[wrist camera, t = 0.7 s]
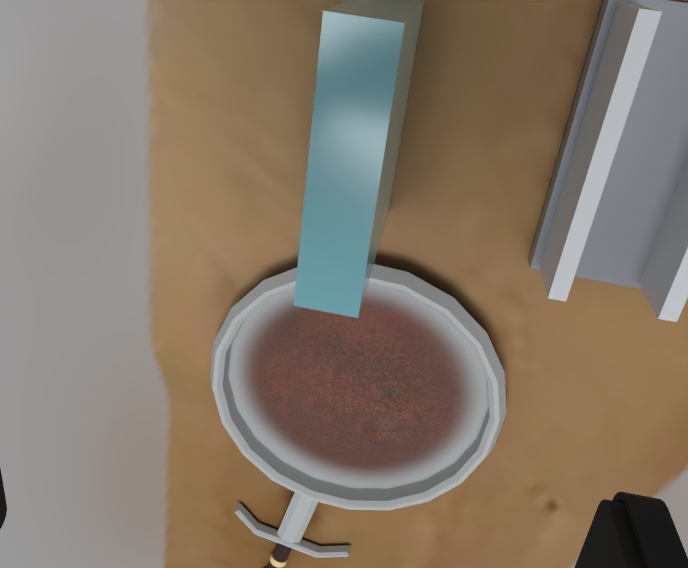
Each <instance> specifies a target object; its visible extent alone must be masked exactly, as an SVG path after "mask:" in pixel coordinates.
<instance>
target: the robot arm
mask: <svg viewBox="0 0 688 568" xmlns="http://www.w3.org/2000/svg"><path fill="white" fill-rule="evenodd" d="M6 511H7V505H6V500H5V493H4V487H3V481H2V475H1V470H0V528H1V527H2V525H3V523H4V520H5V517H6ZM575 568H688V558H687V556H686V553H685V551H684V548H683V546H682V543H681V540H680V538H679V535H678V533H677V530H676V528H675V525H674V523H673V520H672V518H671V515H670V513H669V510H668V508H667V506H666V504H665V503H664V502H663V501H662V500H661V499H656V498H651V497H646V496H640V495H635V494H630V493H625V492H618V493H617V494H616V495H615V496H614V498H613V500H612V501H610V500H602V501H601V502H600V504H599V506H598V508H597V511H596V514H595V516H594V519H593V521H592V524H591V527H590V529H589V532H588V534H587V537H586V540H585V542H584V545H583V547H582V550H581V553H580V555H579V558H578V560H577V563H576V566H575Z"/></svg>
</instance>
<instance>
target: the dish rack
mask: <svg viewBox="0 0 688 568" xmlns="http://www.w3.org/2000/svg"><path fill="white" fill-rule="evenodd" d="M528 262H529V266H530V269H534V270H540V271H541V272H542V276H543V280H544V284H545V288H546V292H547V297H548V298H549V299H555V300H560V301H565V302H566V300H567V297H568V294H569V291H570V288H571V285H572V282H573V279H574V277H579V278H584V279H590V280H595V281H601V282H606V283H612V284H617V285H623V286H628V287H634V288H639V289H643V291H644V293H645V295H646V297H647V299H648V301H649V302H650V304H651V306H652V308H653V310H654V312H655V314H656V316H657V318H658V319H663V320H668V321H673V322H677V320H678V318H679V316H680V313H681V311H682V309H683V307H684V304H685V302H686V300H687V297H688V3H687V2H680V1H673V0H603V4H602V7H601V10H600V14H599V17H598V21H597V24H596V28H595V31H594V35H593V38H592V42H591V45H590V48H589V52H588V55H587V59H586V62H585V66H584V69H583V73H582V76H581V80H580V83H579V86H578V90H577V93H576V97H575V100H574V104H573V107H572V111H571V114H570V118H569V121H568V124H567V128H566V131H565V135H564V138H563V142H562V145H561V149H560V152H559V156H558V159H557V162H556V166H555V169H554V173H553V176H552V180H551V183H550V187H549V190H548V194H547V197H546V200H545V204H544V207H543V211H542V214H541V218H540V221H539V225H538V228H537V232H536V235H535V239H534V242H533V245H532V249H531V252H530V256H529V259H528Z"/></svg>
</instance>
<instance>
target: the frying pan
mask: <svg viewBox="0 0 688 568" xmlns="http://www.w3.org/2000/svg"><path fill="white" fill-rule="evenodd" d="M296 276H297V268H294V269H291V270H289V271H286V272H284V273H281V274H278V275H276V276H273V277H270V278H268V279H265V280H263V281H262V282H261V283H260V284H258V285H257V286H256V287H255V288H254V289H253V290H251V291H250V292H249V293H248V294H247V295H246V296H245V297H243V298H242V299H241V300H240V301H239V302H238V303H236V304H235V305H234V306H233V307H232V308H231V310H230V312H229V314H228V315H227V317H226V319H225V321H224V323H223V325H222V327H221V329H220V331H219V333H218V335H217V337H216V339H215V340H214V344H213V355H212V366H211V377H210V380H211V384H212V388H213V392H214V396H215V399H216V403H217V407H218V410H219V414H220V417H221V421H222V424H223V425H224V427H225V428H226V430H227V431H228V433H229V434H230V436H231V437H232V439H233V440H234V442H235V443H236V445H237V446H238V448H239V449H240V451H241V452H242V454H243V455H244V456H245V457H246V458H247V459H249V460H250V461H251V462H252V463H253V464H254V465H255V466H257V467H258V468H259V469H260V470H261V471H262V472H263V473H265V474H266V475H267V476H268V477H269V478H270V479H271V480H273V481H274V482H276V483H278V484H280V485H282V486H284V487H286V488H288V489H290V490H292V491H294V492H295V493H294V495H293V497H292V499H291V502H290V504H289V506H288V509H287V511H286V513H285V516H284V518H283V520H282V523H281V525H280V527H279V530H276V529H274V528H271V527H269V526H266V525H263V524H261V523H258V522H257V521H256V520H255V519H254V517H253V516H252V515H251V514H250V513H249V512H248V511H247V510H246V509H245V508H244V507H243V505H242V504H241V503H240V502H239V503H238V506H237V508H236V510H235V513H236V514H237V515H238V517H239V518H240V519H241V520H242V521H243V522H244V523H245V524H246V525H247V526H248V527H249V528H250V529H251V531H252V532H253V533H254V534H256V535H258V536H261V537H263V538H266V539H269V540H271V541H274V542H277V543H278V544H277V547H276V549H275V551H274V553H273V554H272V555H271V557H270V563H269V565H268V567H267V568H283V567H284V566H285V565H286V563H287V557H288V555H289V553H290V550H291V548H292V549H295V550H298V551H300V552H303V553H305V554H308V555H311V556H313V557H348V556H349V552H350V546H351V545H343V546H318V545H316V544H313V543H311V542H308V541H305V540H303V539H301V538H302V536H303V534H304V532H305V530H306V528H307V525H308V523H309V521H310V519H311V517H312V515H313V512H314V510H315V508H316V506H317V504H318V502H321V503H325V504H329V505H333V506H337V507H341V508H344V509H348V510H393V509H397V508H402V507H406V506H411V505H415V504H420V503H424V502H428V501H430V500H432V499H434V498H435V497H437V496H439V495H441V494H443V493H445V492H446V491H448V490H450V489H452V488H454V487H455V486H457V485H459V484H461V483H462V482H463V481H464V480H465V479H466V478H467V477H468V476H469V474H470V473H471V472H472V471H473V470H474V469H475V468H476V467H477V466H478V465H479V464H480V463H481V461H482V460H483V459H484V458H485V457H486V456H487V455H488V454H489V453H490V452H491V451H492V449H493V447H494V445H495V442H496V439H497V437H498V434H499V431H500V429H501V426H502V423H503V421H504V418H505V416H506V391H505V372H504V370H503V368H502V366H501V363H500V361H499V359H498V357H497V354H496V352H495V350H494V347H493V345H492V343H491V341H490V338H489V336H488V334H487V332H486V331H485V330H484V329H483V328H482V327H481V326H480V325H479V324H478V323H477V322H476V321H475V320H474V319H473V318H472V316H471V315H470V314H469V313H468V312H467V311H466V310H465V309H464V308H463V307H462V306H461V305H460V304H459V303H458V302H457V301H456V299H455V298H453V297H452V296H450V295H448V294H446V293H444V292H443V291H441V290H439V289H437V288H436V287H434V286H432V285H430V284H428V283H427V282H425V281H423V280H421V279H420V278H418V277H416V276H414V275H412V274H411V273H409V272H407V271H404V270H400V269H395V268H391V267H387V266H382V265H378V264H374V265H373V268H372V272H371V275H370V279H369V282H368V286H367V289H366V293H365V296H364V300H363V303H362V307H361V310H360V314H359V317H358V318H355V317H350V316H344V315H339V314H334V313H329V312H324V311H319V310H313V309H308V308H303V307H298V306H294V296H295V286H296Z"/></svg>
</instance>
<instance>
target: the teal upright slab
mask: <svg viewBox="0 0 688 568" xmlns="http://www.w3.org/2000/svg"><path fill="white" fill-rule="evenodd" d="M423 6H424V0H347V1H345V2H342V3H340V4H338V5H335V6H333V7H331V8H328V9H326V10H323V17H322V27H321V37H320V47H319V57H318V67H317V77H316V87H315V97H314V107H313V117H312V127H311V136H310V146H309V156H308V166H307V176H306V186H305V196H304V206H303V216H302V226H301V236H300V246H299V256H298V266H297V276H296V286H295V296H294V306H298V307H303V308H308V309H313V310H319V311H324V312H329V313H334V314H339V315H344V316H350V317H355V318H358V317H359V314H360V310H361V307H362V303H363V300H364V296H365V293H366V289H367V286H368V282H369V279H370V275H371V272H372V268H373V265H374V261H375V258H376V254H377V251H378V247H379V244H380V240H381V237H382V233H383V230H384V226H385V223H386V220H387V216H388V213H389V208H390V202H391V196H392V190H393V184H394V178H395V172H396V166H397V160H398V154H399V148H400V142H401V136H402V131H403V125H404V119H405V113H406V107H407V101H408V95H409V89H410V83H411V77H412V71H413V65H414V59H415V53H416V47H417V41H418V35H419V29H420V24H421V18H422V12H423Z"/></svg>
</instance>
